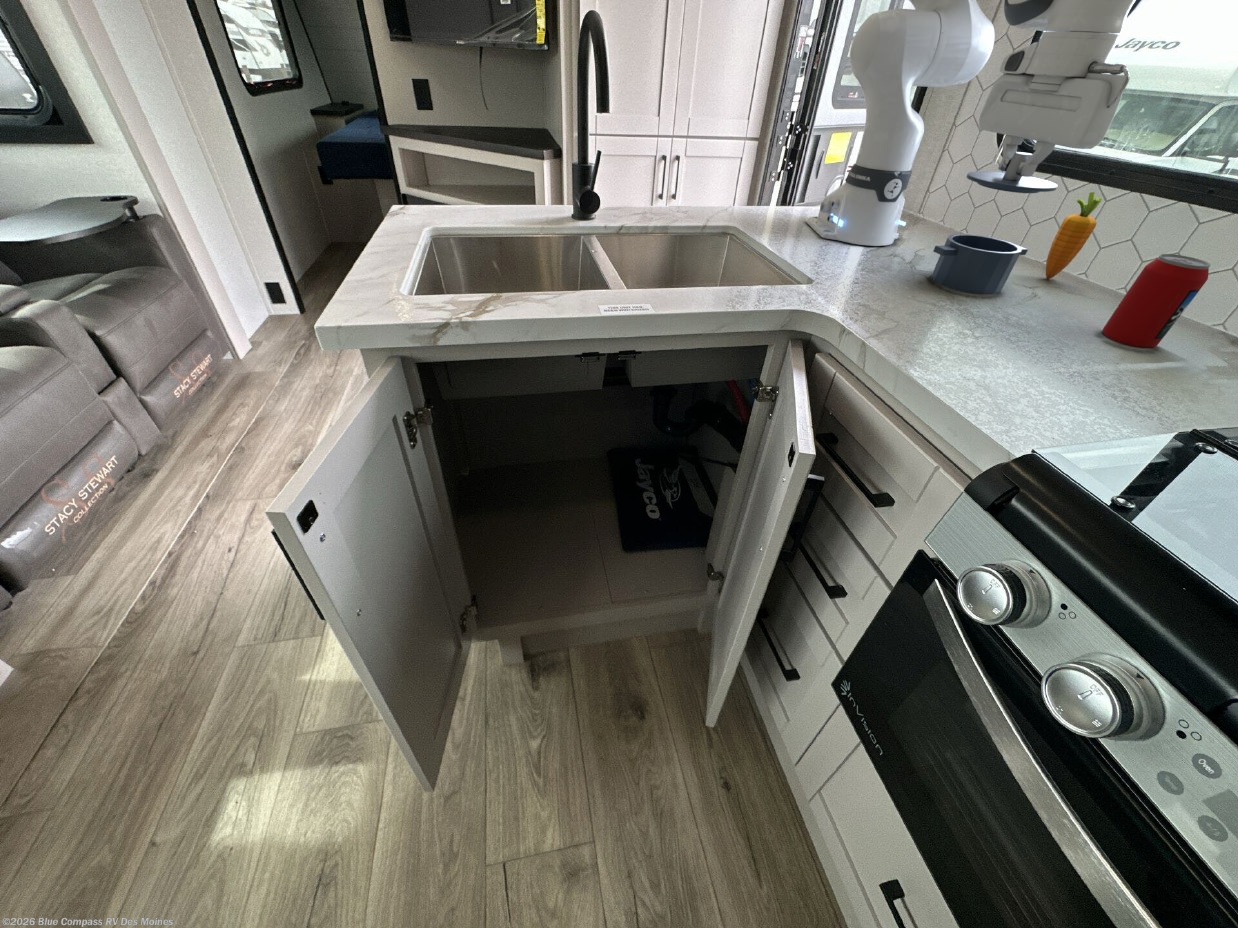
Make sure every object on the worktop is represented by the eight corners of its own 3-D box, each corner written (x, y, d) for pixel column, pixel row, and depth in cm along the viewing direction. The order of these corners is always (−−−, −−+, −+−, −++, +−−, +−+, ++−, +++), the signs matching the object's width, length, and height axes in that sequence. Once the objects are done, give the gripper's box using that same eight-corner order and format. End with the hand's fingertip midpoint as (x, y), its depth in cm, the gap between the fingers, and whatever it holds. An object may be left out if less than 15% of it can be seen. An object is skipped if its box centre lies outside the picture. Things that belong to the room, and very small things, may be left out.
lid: (947, 178, 85) (960, 145, 82) (1012, 179, 87) (1027, 147, 84) (1002, 195, 75) (1019, 160, 72) (1073, 197, 77) (1092, 162, 74)
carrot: (1058, 285, 97) (1110, 197, 87) (1029, 277, 100) (1076, 192, 90) (1066, 280, 99) (1116, 194, 90) (1037, 273, 102) (1083, 189, 93)
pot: (904, 276, 97) (921, 234, 92) (981, 275, 99) (1001, 234, 95) (944, 298, 88) (964, 253, 83) (1027, 296, 91) (1051, 253, 86)
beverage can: (1164, 354, 74) (1230, 270, 66) (1113, 348, 75) (1172, 264, 67) (1137, 335, 79) (1196, 255, 72) (1089, 330, 80) (1142, 250, 72)
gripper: (1158, 65, 64) (1087, 189, 72) (1031, 59, 79) (986, 161, 88) (1115, 62, 63) (1049, 188, 71) (995, 57, 78) (953, 161, 87)
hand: (1013, 173), depth 80 cm, fingers closed on lid, 2 cm apart
